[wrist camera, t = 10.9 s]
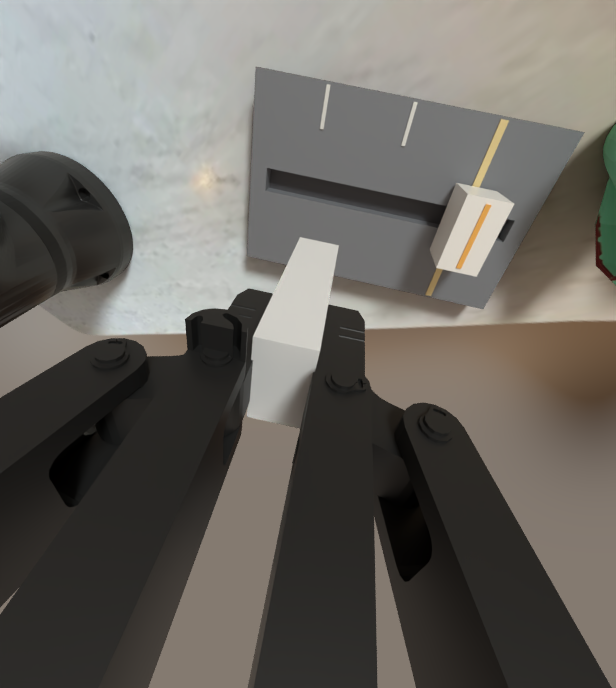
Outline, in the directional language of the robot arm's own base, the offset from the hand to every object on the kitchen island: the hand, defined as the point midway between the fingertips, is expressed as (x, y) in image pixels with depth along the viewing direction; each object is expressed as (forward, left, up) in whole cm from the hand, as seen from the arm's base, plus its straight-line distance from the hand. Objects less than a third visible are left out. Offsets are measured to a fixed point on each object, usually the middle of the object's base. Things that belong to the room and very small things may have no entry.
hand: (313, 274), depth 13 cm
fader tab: (+11, -1, -22) cm, 24 cm away
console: (+4, -1, -24) cm, 24 cm away
